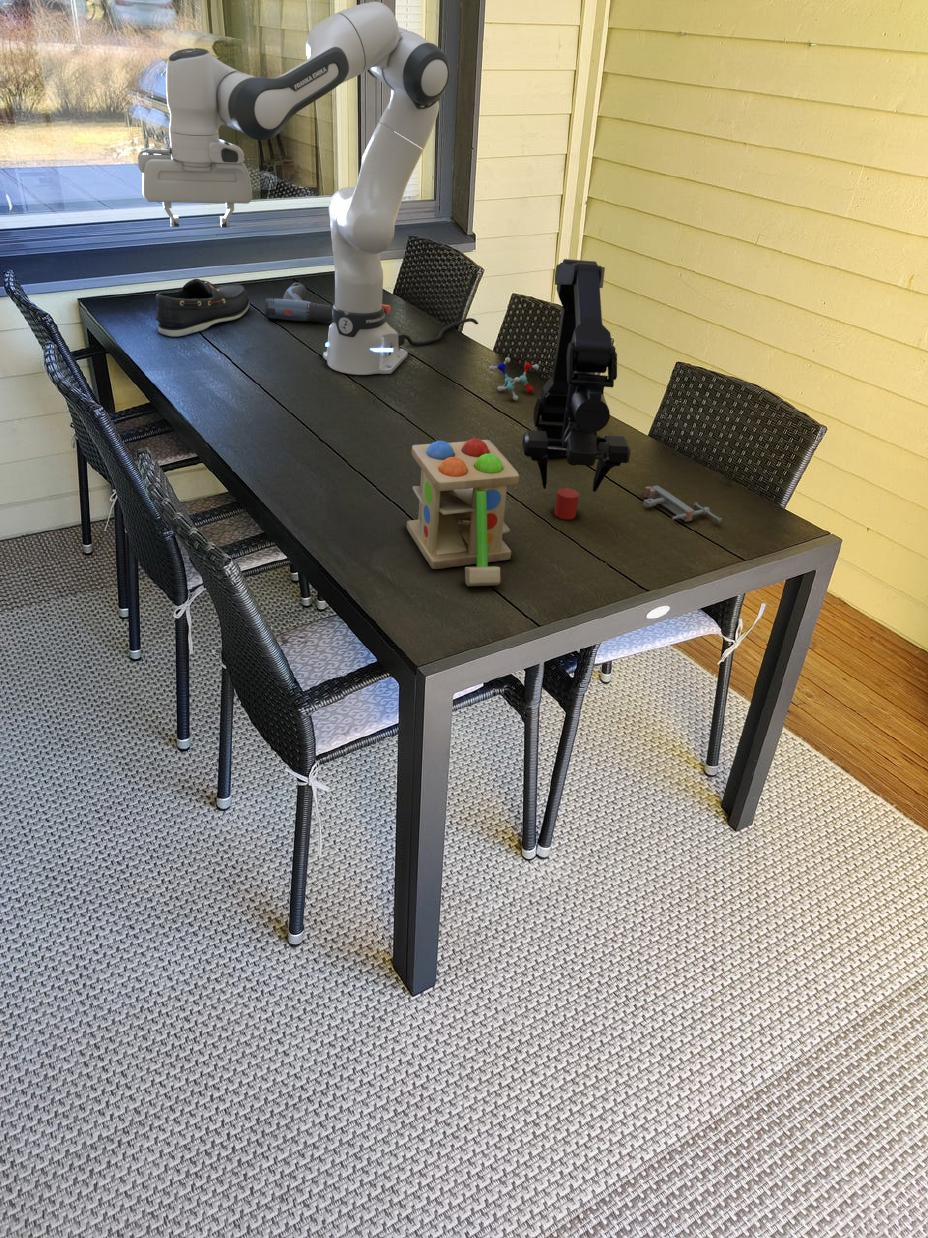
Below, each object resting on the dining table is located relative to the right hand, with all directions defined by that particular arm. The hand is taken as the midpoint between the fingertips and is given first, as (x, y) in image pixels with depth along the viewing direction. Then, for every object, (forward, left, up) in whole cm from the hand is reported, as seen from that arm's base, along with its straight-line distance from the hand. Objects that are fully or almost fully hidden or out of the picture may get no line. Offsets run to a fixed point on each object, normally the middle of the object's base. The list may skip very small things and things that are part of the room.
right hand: (569, 489), depth 179 cm
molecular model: (-10, -58, -5) cm, 60 cm away
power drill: (+27, -120, -5) cm, 123 cm away
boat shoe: (+54, -115, -5) cm, 128 cm away
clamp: (-22, +3, -5) cm, 23 cm away
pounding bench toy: (+23, +12, -5) cm, 26 cm away
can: (0, 0, -5) cm, 5 cm away
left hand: (+58, -59, +31) cm, 89 cm away
